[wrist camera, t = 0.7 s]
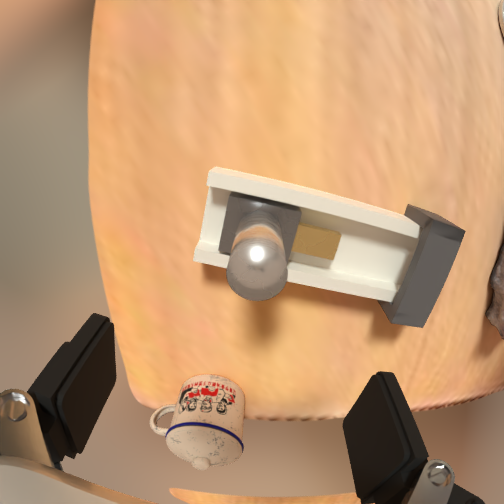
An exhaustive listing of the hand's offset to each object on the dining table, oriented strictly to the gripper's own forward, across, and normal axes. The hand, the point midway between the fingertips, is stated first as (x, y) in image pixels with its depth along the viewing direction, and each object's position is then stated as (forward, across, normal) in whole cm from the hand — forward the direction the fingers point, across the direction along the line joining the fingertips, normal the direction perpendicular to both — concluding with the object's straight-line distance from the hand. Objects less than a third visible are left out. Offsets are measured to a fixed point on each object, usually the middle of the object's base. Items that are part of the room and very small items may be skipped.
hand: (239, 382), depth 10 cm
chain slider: (+19, -2, 0) cm, 19 cm away
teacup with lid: (+21, +1, +25) cm, 33 cm away
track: (+21, -8, 0) cm, 22 cm away
